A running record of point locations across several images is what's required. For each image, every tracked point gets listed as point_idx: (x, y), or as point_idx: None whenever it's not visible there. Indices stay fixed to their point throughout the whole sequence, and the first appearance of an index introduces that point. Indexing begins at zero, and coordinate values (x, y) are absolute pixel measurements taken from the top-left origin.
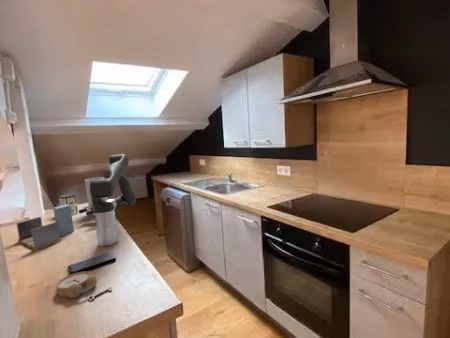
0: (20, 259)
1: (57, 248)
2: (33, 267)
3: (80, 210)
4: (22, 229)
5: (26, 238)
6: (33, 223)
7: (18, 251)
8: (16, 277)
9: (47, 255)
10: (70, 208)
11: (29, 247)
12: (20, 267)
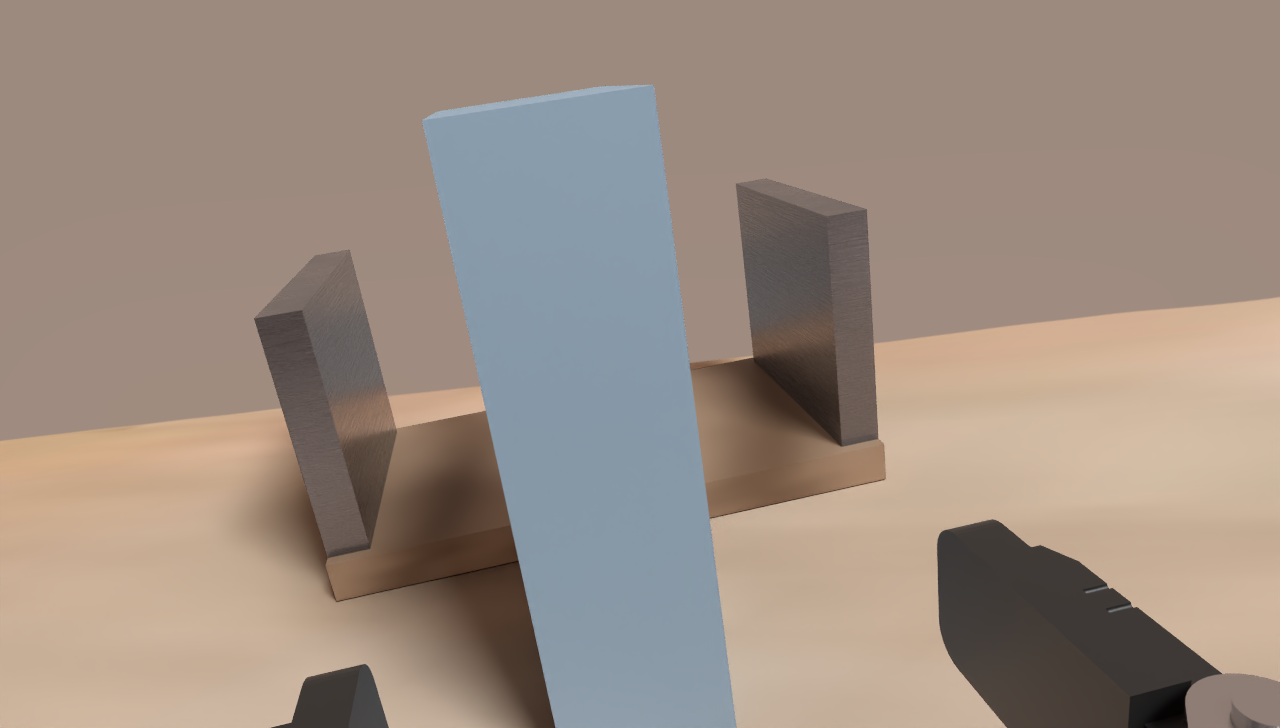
0: None
1: (140, 574)
2: (29, 478)
3: (968, 567)
4: (755, 270)
5: (738, 382)
6: (794, 260)
7: None
8: (34, 440)
9: (101, 523)
10: (445, 217)
11: None
12: (152, 438)
